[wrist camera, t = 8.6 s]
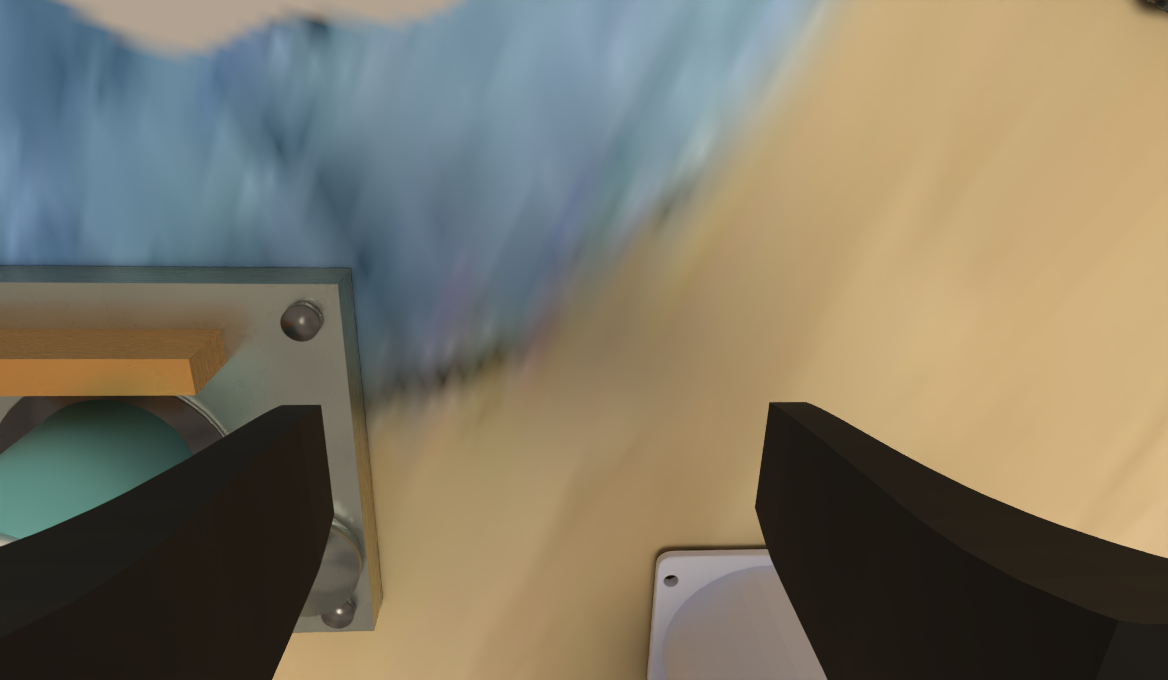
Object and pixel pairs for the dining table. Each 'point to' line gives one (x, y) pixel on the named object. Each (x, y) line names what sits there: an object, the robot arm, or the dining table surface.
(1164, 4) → the stone
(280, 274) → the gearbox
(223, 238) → the dining table surface
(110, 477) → the spout can
